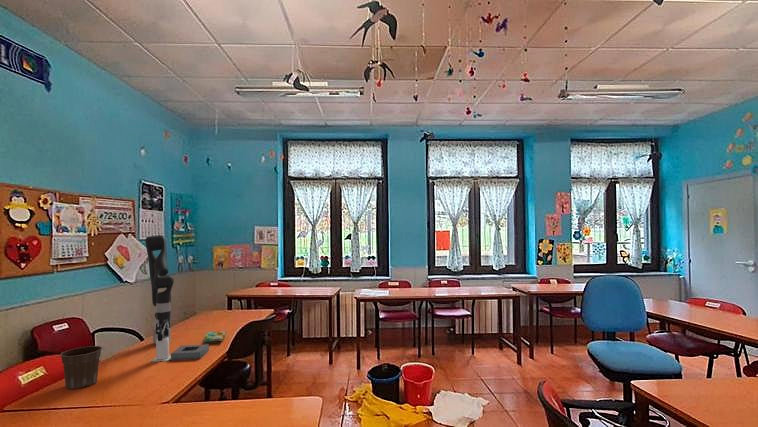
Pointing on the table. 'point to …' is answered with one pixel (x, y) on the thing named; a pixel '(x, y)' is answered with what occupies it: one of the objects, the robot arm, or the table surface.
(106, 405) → the table surface
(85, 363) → the plant pot
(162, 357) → the can
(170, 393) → the table surface
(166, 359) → the mat
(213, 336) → the puzzle game
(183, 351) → the hollow block
